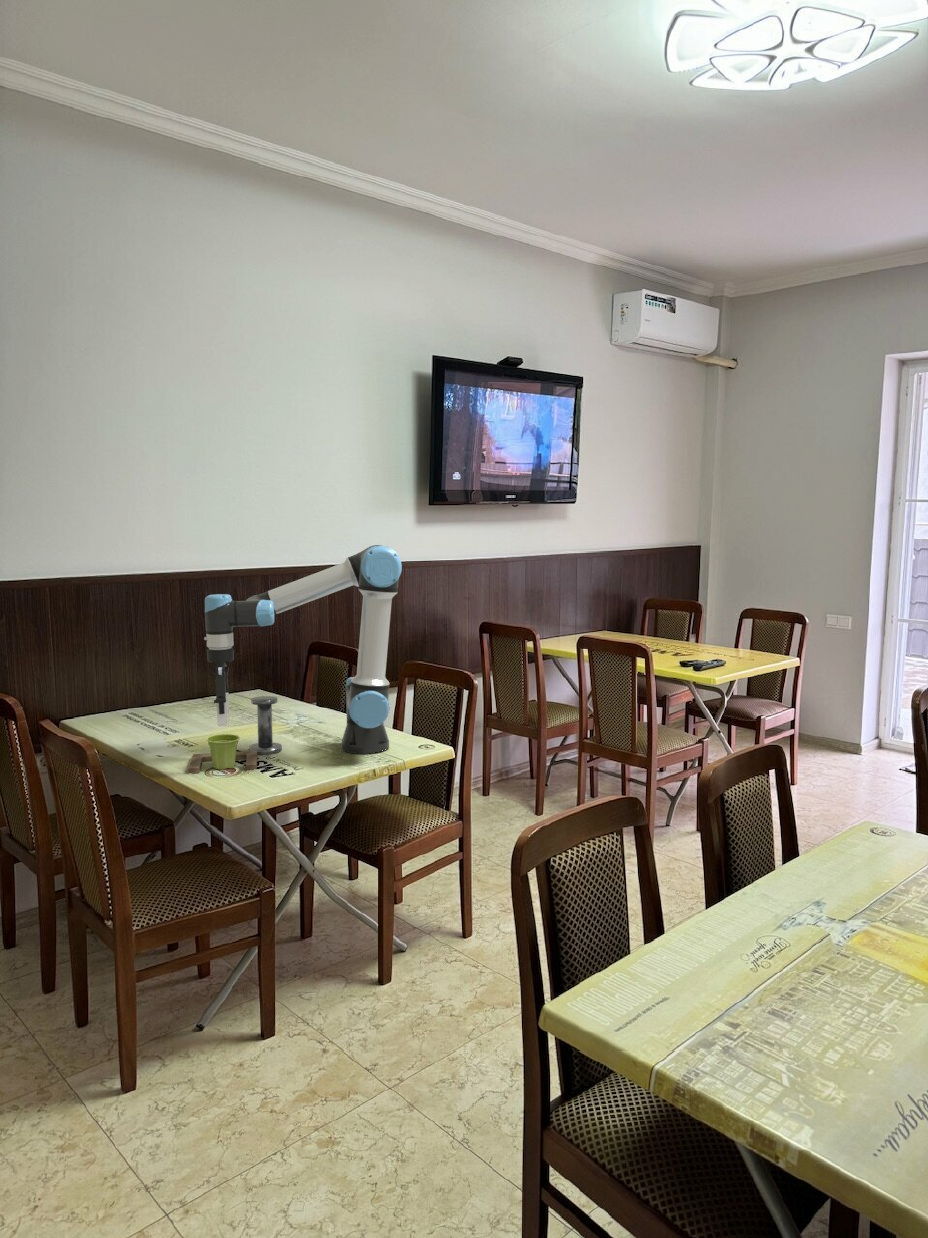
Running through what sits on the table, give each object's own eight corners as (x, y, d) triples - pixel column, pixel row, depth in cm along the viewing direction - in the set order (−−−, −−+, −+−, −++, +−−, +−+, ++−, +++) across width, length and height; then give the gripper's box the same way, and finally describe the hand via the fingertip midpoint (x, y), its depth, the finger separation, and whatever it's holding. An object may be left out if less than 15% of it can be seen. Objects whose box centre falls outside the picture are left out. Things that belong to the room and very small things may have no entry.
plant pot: (245, 763, 265) (244, 734, 264) (233, 772, 256) (232, 742, 255) (214, 762, 266) (213, 733, 265) (202, 771, 257) (201, 741, 256)
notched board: (257, 755, 273) (257, 750, 273) (256, 769, 258) (256, 764, 258) (192, 759, 269) (192, 754, 269) (188, 773, 254) (188, 768, 254)
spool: (281, 746, 285) (280, 694, 283) (282, 754, 275) (280, 701, 273) (249, 747, 282) (248, 696, 281) (248, 756, 273) (247, 702, 271)
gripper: (209, 642, 269) (213, 711, 271) (203, 654, 245) (207, 730, 247) (235, 641, 270) (238, 709, 273) (231, 653, 246) (235, 728, 249)
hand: (223, 719), depth 260 cm, fingers open, 13 cm apart
